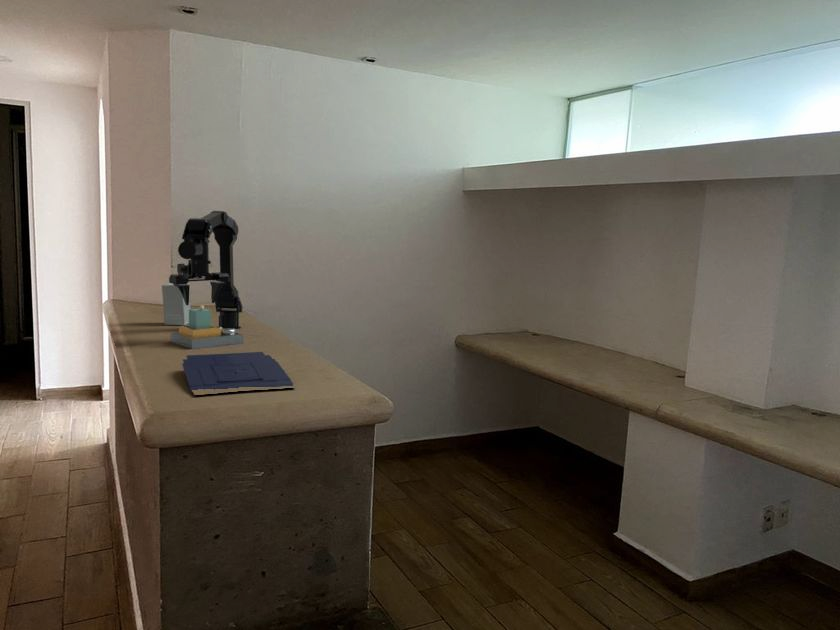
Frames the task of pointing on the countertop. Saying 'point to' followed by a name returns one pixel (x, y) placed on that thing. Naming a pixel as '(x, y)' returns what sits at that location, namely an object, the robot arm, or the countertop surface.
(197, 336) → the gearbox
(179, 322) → the skincare box
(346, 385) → the countertop surface
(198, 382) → the dark blue book
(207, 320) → the spout can
